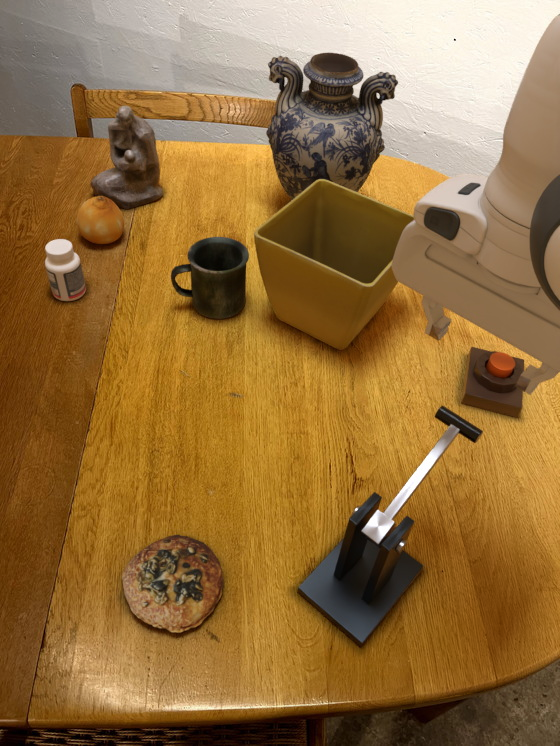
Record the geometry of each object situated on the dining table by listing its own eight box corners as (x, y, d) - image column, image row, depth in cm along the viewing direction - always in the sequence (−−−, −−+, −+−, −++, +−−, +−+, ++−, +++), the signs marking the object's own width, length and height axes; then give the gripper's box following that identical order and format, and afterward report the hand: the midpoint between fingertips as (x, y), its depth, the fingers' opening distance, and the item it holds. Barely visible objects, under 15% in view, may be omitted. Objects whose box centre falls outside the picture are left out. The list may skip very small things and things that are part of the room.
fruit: (140, 230, 113) (118, 186, 110) (102, 252, 109) (78, 208, 106) (120, 231, 119) (98, 190, 116) (83, 252, 116) (60, 211, 112)
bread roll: (219, 533, 77) (217, 517, 73) (228, 631, 71) (227, 619, 67) (124, 545, 76) (117, 530, 72) (125, 645, 70) (117, 635, 66)
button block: (516, 417, 93) (526, 399, 90) (461, 403, 94) (468, 384, 91) (519, 369, 99) (528, 351, 96) (467, 356, 101) (474, 337, 98)
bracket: (360, 523, 80) (380, 458, 70) (421, 570, 76) (452, 509, 66) (296, 591, 73) (308, 531, 63) (360, 647, 70) (383, 592, 59)
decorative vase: (373, 193, 130) (401, 47, 110) (368, 247, 118) (399, 95, 97) (268, 178, 132) (276, 32, 111) (252, 231, 119) (258, 77, 98)
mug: (252, 318, 103) (255, 268, 96) (177, 327, 101) (173, 278, 93) (241, 282, 109) (242, 233, 102) (169, 290, 106) (165, 241, 99)
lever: (442, 409, 71) (443, 401, 69) (482, 435, 69) (484, 427, 67) (351, 527, 68) (349, 522, 66) (391, 557, 66) (390, 553, 63)
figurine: (89, 208, 121) (72, 114, 107) (98, 174, 128) (83, 83, 115) (161, 210, 122) (153, 118, 108) (165, 177, 129) (158, 86, 116)
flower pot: (407, 306, 108) (431, 220, 95) (351, 374, 96) (370, 287, 84) (309, 262, 114) (320, 176, 102) (247, 321, 103) (250, 233, 90)
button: (510, 381, 93) (514, 372, 91) (485, 374, 93) (488, 366, 92) (511, 363, 95) (515, 355, 94) (487, 357, 95) (490, 349, 94)
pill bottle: (89, 281, 107) (80, 237, 100) (82, 303, 103) (73, 258, 97) (56, 280, 106) (45, 235, 100) (48, 301, 103) (36, 256, 96)
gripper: (683, 278, 46) (601, 402, 57) (440, 166, 55) (406, 292, 65) (652, 320, 43) (570, 444, 53) (398, 194, 52) (369, 322, 62)
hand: (479, 359), depth 59 cm, fingers open, 8 cm apart
